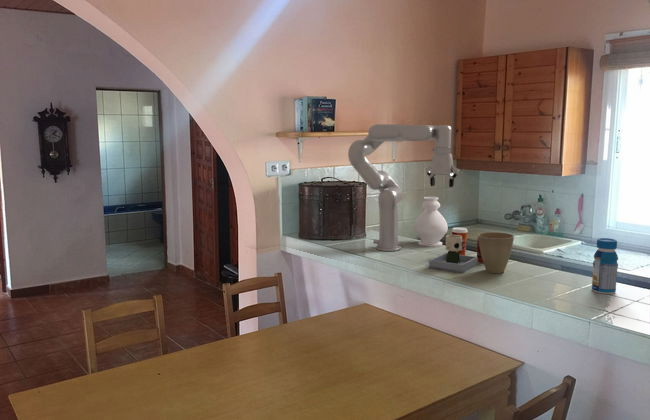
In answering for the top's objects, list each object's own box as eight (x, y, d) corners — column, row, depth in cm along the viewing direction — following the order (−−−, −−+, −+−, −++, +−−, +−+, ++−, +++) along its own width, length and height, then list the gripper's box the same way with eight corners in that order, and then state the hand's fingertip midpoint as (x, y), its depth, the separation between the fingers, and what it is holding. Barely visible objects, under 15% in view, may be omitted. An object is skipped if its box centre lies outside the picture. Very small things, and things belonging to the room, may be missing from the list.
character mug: (452, 268, 244) (453, 238, 242) (439, 265, 249) (439, 236, 247) (467, 264, 250) (468, 235, 249) (454, 261, 256) (455, 233, 254)
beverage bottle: (608, 296, 204) (612, 242, 202) (586, 290, 211) (590, 239, 208) (620, 292, 209) (624, 240, 206) (598, 287, 216) (601, 236, 213)
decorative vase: (453, 243, 298) (455, 197, 294) (433, 248, 286) (434, 200, 282) (427, 239, 311) (428, 194, 307) (406, 243, 299) (407, 197, 295)
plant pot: (498, 265, 250) (500, 231, 248) (519, 273, 236) (521, 237, 234) (470, 268, 246) (471, 233, 243) (489, 277, 232) (491, 239, 229)
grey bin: (428, 267, 247) (429, 260, 247) (445, 260, 261) (445, 252, 261) (462, 273, 238) (462, 265, 238) (477, 264, 252) (477, 257, 252)
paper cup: (463, 259, 262) (463, 230, 260) (447, 257, 266) (448, 228, 264) (469, 256, 268) (470, 228, 266) (454, 254, 272) (455, 226, 270)
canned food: (475, 261, 258) (475, 238, 256) (478, 258, 265) (479, 235, 263) (491, 263, 254) (492, 240, 253) (495, 259, 261) (496, 236, 260)
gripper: (422, 151, 270) (422, 186, 273) (456, 151, 260) (455, 188, 263) (429, 150, 276) (429, 184, 279) (462, 151, 266) (461, 186, 269)
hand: (441, 186), depth 271 cm, fingers open, 9 cm apart
